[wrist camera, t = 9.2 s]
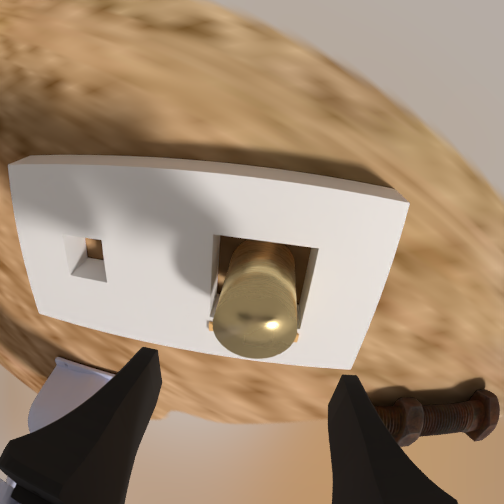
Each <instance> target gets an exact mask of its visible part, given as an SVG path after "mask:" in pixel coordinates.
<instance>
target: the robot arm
mask: <svg viewBox="0 0 504 504" xmlns="http://www.w3.org/2000/svg"><path fill="white" fill-rule="evenodd" d="M55 362H56V364H57V365H56V367H55V368H54V370H53V371H52V373H51V374H50V376H49V377H48V379H47V381H46V382H45V384H44V385H43V387H42V388H41V390H40V392H39V393H38V395H37V396H36V398H35V400H34V401H33V403H32V405H31V408H30V411H29V416H28V427H29V431H30V434H27V435H25V436H22V437H19V438H16V439H13V440H10V441H9V443H8V444H7V446H6V447H5V449H4V451H3V453H2V455H1V457H0V469H1V470H2V471H3V472H4V473H5V474H6V475H7V479H6V482H5V481H3V480H2V479H0V504H124V503H125V498H126V493H127V488H128V484H129V479H130V475H131V471H132V467H133V464H134V460H135V456H136V453H137V450H138V447H139V444H140V442H141V440H142V437H143V435H144V433H145V430H146V428H147V425H148V423H149V421H150V418H151V416H152V413H153V411H154V408H155V406H156V403H157V400H158V396H159V392H160V389H161V385H162V378H161V371H160V364H159V356H158V350H155V349H151V348H146V347H142V348H141V349H140V350H139V351H138V352H137V353H136V354H135V355H134V356H133V358H132V359H131V360H130V361H129V362H128V363H127V364H126V365H125V366H124V367H123V368H122V369H121V370H120V371H119V372H118V373H117V374H116V375H115V374H111V373H108V372H104V371H101V370H98V369H94V368H91V367H88V366H85V365H82V364H79V363H75V362H72V361H69V360H66V359H64V358H61V357H56V359H55ZM328 432H329V443H330V451H331V462H332V472H333V493H332V504H458V502H457V500H456V499H454V498H453V497H451V496H450V495H449V494H447V493H446V492H444V491H443V490H442V489H440V488H439V487H438V486H437V485H436V484H435V483H433V482H432V481H431V480H430V479H429V478H428V477H427V476H426V475H425V474H424V473H422V471H421V470H420V469H419V468H418V467H417V466H416V465H415V464H414V463H413V462H412V461H411V460H410V459H409V457H408V456H407V455H406V454H405V453H404V451H403V450H402V449H401V448H400V446H399V445H398V444H397V442H396V441H395V439H394V438H393V437H392V435H391V434H390V432H389V431H388V429H387V428H386V426H385V424H384V423H383V421H382V420H381V418H380V416H379V415H378V413H377V411H376V410H375V408H374V406H373V404H372V402H371V401H370V399H369V397H368V395H367V393H366V391H365V390H364V388H363V386H362V384H361V382H360V380H359V378H358V377H357V375H342V376H341V378H340V381H339V383H338V385H337V387H336V389H335V391H334V394H333V396H332V398H331V400H330V402H329V404H328Z"/></svg>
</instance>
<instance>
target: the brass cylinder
mask: <svg viewBox="0 0 504 504" xmlns="http://www.w3.org/2000/svg"><path fill="white" fill-rule="evenodd" d="M212 325H213V331H214V334H215V336H216V338H217V340H218V341H219V342H220V344H221V345H223V346H224V347H225V348H226V349H227V350H229V351H231V352H232V353H234V354H236V355H239V356H242V357H246V358H253V359H263V358H269V357H273V356H276V355H278V354H281V353H282V352H284V351H285V350H287V349H288V348H289V347H290V346H291V345H292V343H293V342H294V340H295V338H296V335H297V302H296V278H295V261H294V257H293V255H292V253H291V251H290V250H289V249H288V248H287V247H286V246H285V245H284V244H282V243H275V242H268V241H260V240H252V239H248V240H246V241H244V242H243V243H241V244H240V245H239V246H238V247H237V248H236V249H235V251H234V253H233V255H232V258H231V261H230V265H229V268H228V271H227V275H226V278H225V281H224V284H223V288H222V291H221V294H220V298H219V301H218V304H217V308H216V311H215V314H214V318H213V324H212Z"/></svg>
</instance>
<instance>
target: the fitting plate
mask: <svg viewBox="0 0 504 504" xmlns="http://www.w3.org/2000/svg"><path fill="white" fill-rule="evenodd" d="M8 172H9V181H10V189H11V196H12V203H13V209H14V215H15V221H16V226H17V231H18V236H19V241H20V246H21V250H22V254H23V259H24V263H25V267H26V270H27V274H28V278H29V282H30V285H31V289H32V292H33V295H34V299H35V302H36V305H37V308H38V311H39V313H40V314H43V315H46V316H49V317H53V318H56V319H59V320H63V321H66V322H70V323H73V324H77V325H80V326H84V327H88V328H91V329H95V330H99V331H103V332H107V333H111V334H115V335H119V336H123V337H127V338H132V339H136V340H141V341H145V342H150V343H155V344H159V345H164V346H169V347H174V348H180V349H185V350H190V351H196V352H202V353H208V354H214V355H220V356H226V357H233V358H240V359H247V360H255V361H262V362H271V363H279V364H288V365H298V366H309V367H321V368H334V369H350V370H351V367H352V365H353V363H354V361H355V358H356V356H357V354H358V352H359V349H360V347H361V345H362V342H363V340H364V337H365V335H366V332H367V330H368V328H369V325H370V323H371V320H372V317H373V315H374V312H375V310H376V307H377V304H378V302H379V299H380V296H381V294H382V291H383V288H384V285H385V282H386V279H387V277H388V274H389V271H390V268H391V265H392V262H393V259H394V255H395V252H396V249H397V246H398V243H399V239H400V236H401V233H402V229H403V226H404V222H405V219H406V215H407V212H408V208H409V204H410V203H409V202H408V201H407V200H406V199H405V198H404V197H403V196H402V195H401V194H400V193H399V192H398V191H396V190H395V189H392V188H388V187H383V186H378V185H373V184H367V183H362V182H357V181H351V180H346V179H340V178H334V177H328V176H322V175H316V174H309V173H303V172H296V171H289V170H282V169H274V168H266V167H258V166H250V165H241V164H232V163H222V162H212V161H201V160H188V159H175V158H159V157H141V156H115V155H31V156H28V157H26V158H23V159H20V160H18V161H15V162H13V163H11V164H8ZM220 235H222V236H229V237H237V238H245V239H252V240H260V241H268V242H275V243H282V244H290V245H297V246H305V247H311V251H310V256H309V261H308V265H307V270H306V275H305V279H304V284H303V288H302V293H301V297H300V302H299V305H297V335H296V338H295V340H294V342H293V343H292V345H291V346H290V347H289V348H288V349H287V350H285V351H284V352H282V353H281V354H278V355H276V356H273V357H269V358H263V359H253V358H246V357H242V356H239V355H236V354H234V353H232V352H231V351H229V350H227V349H226V348H225V347H224V346H223V345H221V344H220V342H219V341H218V340H217V338H216V336H215V334H214V331H213V325H212V324H213V318H214V314H215V311H216V308H217V304H218V301H219V298H220V294H217V284H218V266H219V250H220ZM85 238H91V239H98V240H102V248H103V256H104V260H99V259H94V258H88V256H87V249H86V242H85Z"/></svg>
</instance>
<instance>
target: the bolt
mask: <svg viewBox="0 0 504 504" xmlns="http://www.w3.org/2000/svg"><path fill="white" fill-rule="evenodd" d="M374 408H375V410H376V411H377V413H378V415H379V416H380V418H381V420H382V421H383V423H384V424H385V426H386V428H387V429H388V431H389V432H390V434H391V435H392V437H393V438H394V439H395V441H396V442H397V444H398V445H399V446H400V447H403V446H409V445H410V444H412V443H413V442H415V441H416V440H417V439H418V437H420V436H430V435H441V434H448V433H457V432H464V433H466V434H467V435H468V436H469V437H470V438H471V439H472V440H474V441H480V440H483V439H484V438H485V437H487V436H488V435H489V434H490V433H491V432H492V431H493V430H494V429H495V427H496V425H497V422H498V419H499V413H500V407H499V402H498V398H497V396H496V395H495V394H494V393H492V392H490V391H488V390H485V389H483V390H477V391H476V392H475V393H474V395H473V396H472V397H471V399H470V400H469V401H465V402H463V403H453V404H437V405H436V404H435V405H421V403H420V402H419V401H418V400H416V399H415V398H413V397H404V398H400V399H399V400H397V401H396V402H395V404H394V406H374Z"/></svg>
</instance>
